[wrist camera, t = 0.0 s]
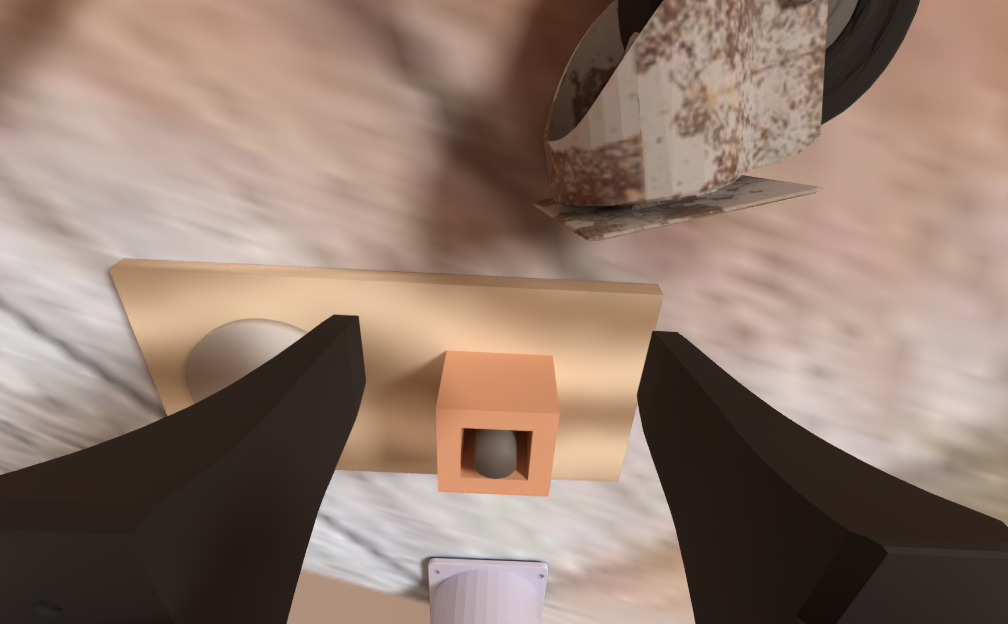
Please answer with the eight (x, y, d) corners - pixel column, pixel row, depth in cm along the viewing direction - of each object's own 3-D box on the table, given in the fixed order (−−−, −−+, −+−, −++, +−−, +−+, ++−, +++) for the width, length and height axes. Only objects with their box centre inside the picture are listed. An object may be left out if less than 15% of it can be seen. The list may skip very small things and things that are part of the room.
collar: (543, 432, 26) (548, 496, 23) (447, 428, 26) (438, 491, 23) (552, 355, 24) (560, 413, 20) (446, 350, 24) (435, 408, 20)
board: (614, 468, 29) (634, 557, 24) (196, 449, 29) (133, 536, 24) (657, 284, 23) (696, 356, 18) (123, 258, 22) (20, 324, 18)
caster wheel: (818, -151, 17) (803, 161, 21) (483, -101, 16) (533, 218, 20) (1062, -316, 11) (976, 177, 15) (533, -254, 10) (591, 263, 13)
